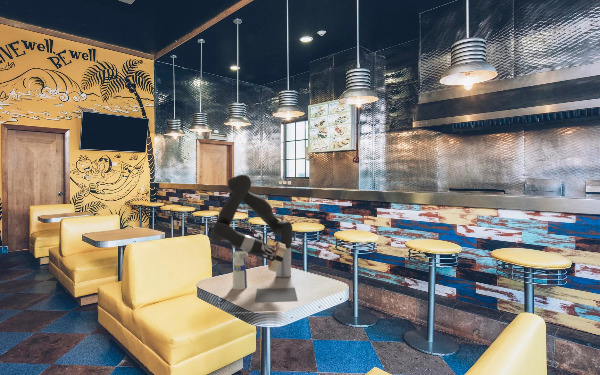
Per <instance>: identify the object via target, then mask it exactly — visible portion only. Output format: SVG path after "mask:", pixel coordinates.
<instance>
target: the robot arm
mask: <svg viewBox="0 0 600 375" xmlns="http://www.w3.org/2000/svg"><path fill="white" fill-rule="evenodd" d="M227 186H228V188H229V190H230V192H231V193H232V195H231V196H230V197H229V198H228V199H227V201H226V202H225V203H224V205H223V206H222V208H221V210H220V212H219V215H218V218H217V220H216V222H215V224H214V225H213V228H212V230H211V232H210V238H211V240H212V241H213V242H216V243H219V242H222V241H224V240H227V241H228V243H229V244H230V245H231V246H232V247H233V246H235V248H237V249H241V251H246V252H247V253H249V254H251V255H254V256H258V255H259V254H260V255H262V258H263V259H266V260H269V261H270V260H271V261H274V260H277V261H280V263H279V265H278V267H277V269H276V271H275V277H277V278H289V277H292V242H293V225H292V223H291V222H290V221H286V220H285V221H284V220H280V219H279V218H277V217H276V216H275V215H274V211H273V208H272V206H271V204H270V203H269V202H268V201H267V200H266V199H265V198H263V197H262V196H259V195H257V194H256V193H253V192H250V189H251V186H252V181H251V178H250V176H249V175H247V174H245V173H244V174H239V175H236V176H233V177H231V178H229V179H228V181H227ZM242 202H244V203H245V204H246V205H247V206H248V207H249V208H250V209H251V210H252V211H253V212H254V214H256V215H257V216H258V218H260V219H261V220H262V221H263V222H264V224H266V225H267V226H268V227H269V228H270V230H271V231H272V232H273V234H274V235H276V236H278V237H280V240H279V241H278V242H277V241H276V243H275V247H274V246H272V245H270V244H268V243H265V242H263V240H260V239H259V238H255V237H253V236H251V235H247V234H244V233H242V232H239V231H237V230H236V229H235V228H233V227H231V226H230V225H231V224H232V222H233V219H234V217H235V216H236V213H237V210H238V208H239V207H240V205H241V203H242ZM279 242H280V243H282V244H285V246H286V251H285V253H284V255H283V257H280V256H278V255H275V254H274V251H275V249H276V247H277V245H278V243H279Z"/></svg>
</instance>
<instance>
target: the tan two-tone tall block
mask: <svg viewBox="0 0 600 375" xmlns="http://www.w3.org/2000/svg"><path fill="white" fill-rule="evenodd" d="M278 242H279V241H278ZM274 249H275V251H274V254H275V255H278V256H280V257H283V255H284V253H285V251H286V246H285V244H282V243H280V242H279V243H278V245H277V247H276V246H275V248H274ZM279 263H280V261H277V260H274V261H271V260H269V261H268V264H267V267H268V271H271V272H274V273H276V269H277V267H278V265H279Z"/></svg>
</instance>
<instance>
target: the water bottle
mask: <svg viewBox="0 0 600 375" xmlns="http://www.w3.org/2000/svg"><path fill="white" fill-rule="evenodd" d="M232 249H234V250H235V249H236V247H235V246H232ZM248 253H249V252H246V251H244V250H237V251H233V252H232V260H233V263H232V265H233V271H232V289H233V290H239V291H240V290H245V289H247V288H248V279H247V276H248V275H247V270H246V268H247V267H246V264H247V262H246V258H247V257H248V256H249V254H248Z"/></svg>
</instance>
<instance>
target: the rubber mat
mask: <svg viewBox="0 0 600 375" xmlns="http://www.w3.org/2000/svg"><path fill="white" fill-rule="evenodd" d="M298 301H299V300H298V296H297V292H296V288H295V287H274V288H273V287H272V288H271V287H270V288H256V292H255V300H254V303H255V304H256V303H258V304H260V303H283V302H284V303H287V302H298Z"/></svg>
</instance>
